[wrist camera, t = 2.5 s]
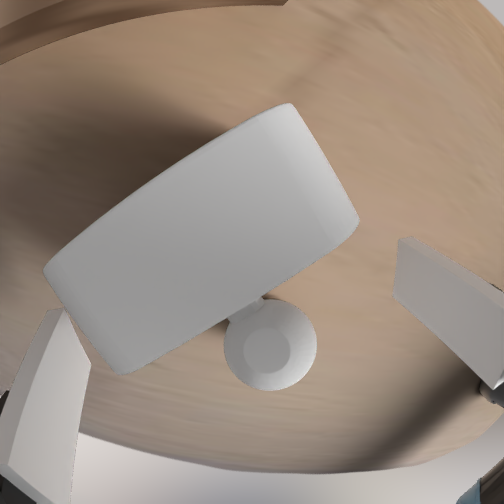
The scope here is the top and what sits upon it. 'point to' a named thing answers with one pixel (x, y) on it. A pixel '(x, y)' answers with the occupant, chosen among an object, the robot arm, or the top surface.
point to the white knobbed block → (211, 253)
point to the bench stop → (81, 18)
